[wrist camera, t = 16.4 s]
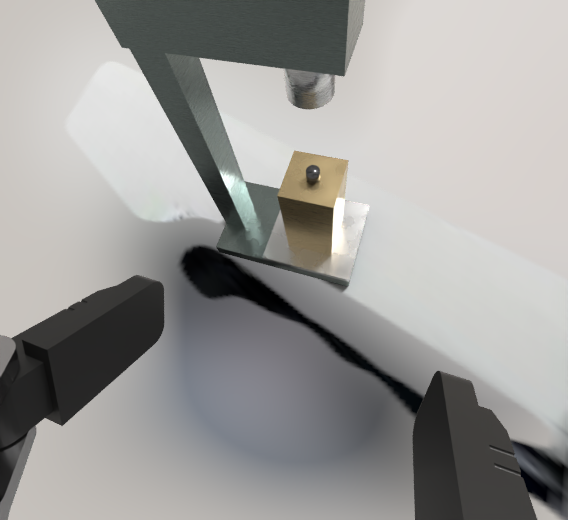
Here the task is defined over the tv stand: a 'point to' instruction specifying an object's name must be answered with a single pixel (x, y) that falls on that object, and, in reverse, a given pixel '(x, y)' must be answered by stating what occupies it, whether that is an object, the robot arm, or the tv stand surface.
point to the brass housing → (313, 201)
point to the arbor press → (205, 116)
